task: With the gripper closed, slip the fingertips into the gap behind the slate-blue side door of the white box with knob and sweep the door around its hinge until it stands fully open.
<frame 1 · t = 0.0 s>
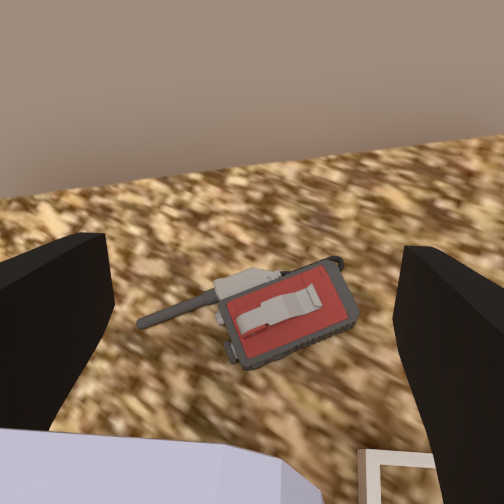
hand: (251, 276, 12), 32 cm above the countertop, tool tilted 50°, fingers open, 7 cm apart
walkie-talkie: (252, 321, 45), on the countertop
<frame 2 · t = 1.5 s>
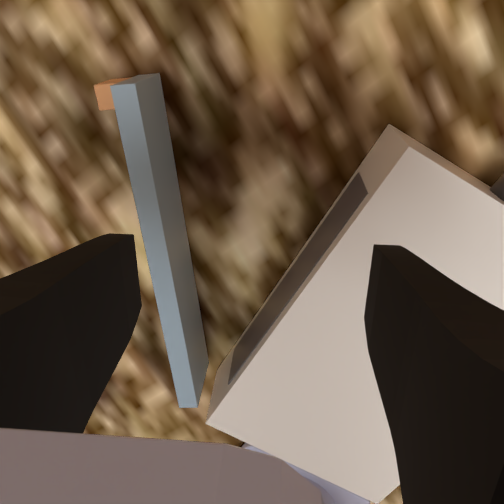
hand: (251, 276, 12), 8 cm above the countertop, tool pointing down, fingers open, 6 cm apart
white box with knob: (376, 310, 21), on the countertop
side door: (160, 254, 19), point 2 cm above the countertop, hinge at 35.0°
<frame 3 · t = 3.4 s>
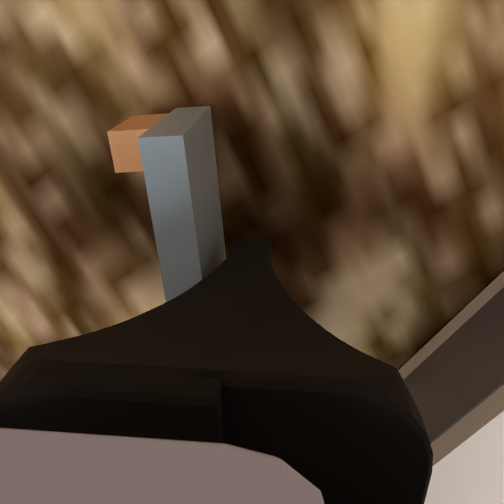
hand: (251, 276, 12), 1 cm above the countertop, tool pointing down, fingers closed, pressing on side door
white box with knob: (496, 447, 15), on the countertop
side door: (198, 377, 12), point 2 cm above the countertop, hinge at 37.0°, touching gripper
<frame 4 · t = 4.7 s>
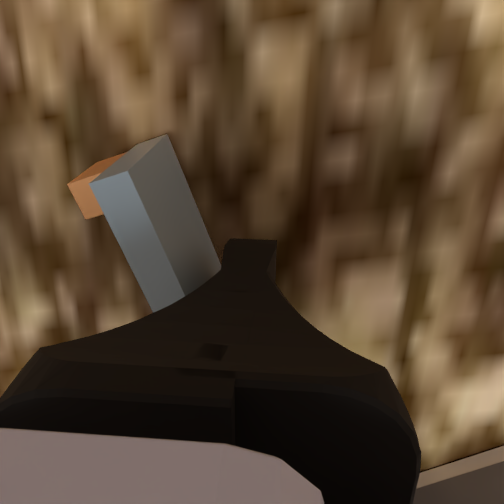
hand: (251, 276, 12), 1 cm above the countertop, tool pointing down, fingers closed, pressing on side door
side door: (224, 393, 13), point 2 cm above the countertop, hinge at 77.0°, touching gripper
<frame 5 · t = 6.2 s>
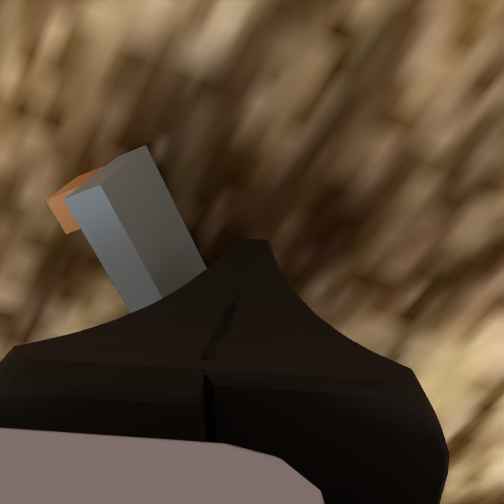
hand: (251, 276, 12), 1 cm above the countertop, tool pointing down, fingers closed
side door: (217, 398, 13), point 2 cm above the countertop, hinge at 107.3°, touching gripper
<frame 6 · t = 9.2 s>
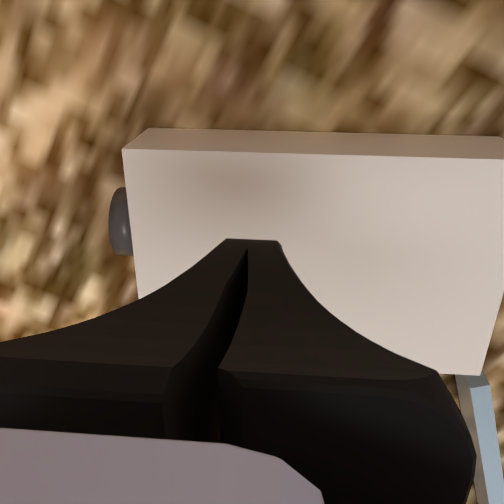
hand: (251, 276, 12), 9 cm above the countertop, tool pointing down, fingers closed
white box with knob: (312, 234, 21), on the countertop
side door: (493, 463, 24), point 2 cm above the countertop, hinge at 108.3°
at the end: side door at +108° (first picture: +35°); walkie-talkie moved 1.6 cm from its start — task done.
